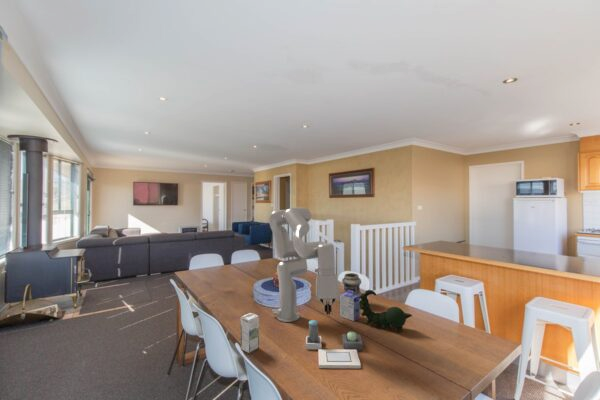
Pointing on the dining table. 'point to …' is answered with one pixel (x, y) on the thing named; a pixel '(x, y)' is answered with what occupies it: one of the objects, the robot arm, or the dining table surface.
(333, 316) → the dining table surface
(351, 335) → the button
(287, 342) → the dining table surface
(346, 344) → the button housing
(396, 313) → the toy figurine
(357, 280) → the apothecary jar
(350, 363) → the picture board
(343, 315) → the ink cartridge box
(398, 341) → the dining table surface
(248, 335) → the syrup box
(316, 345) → the marker holder
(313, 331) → the marker
